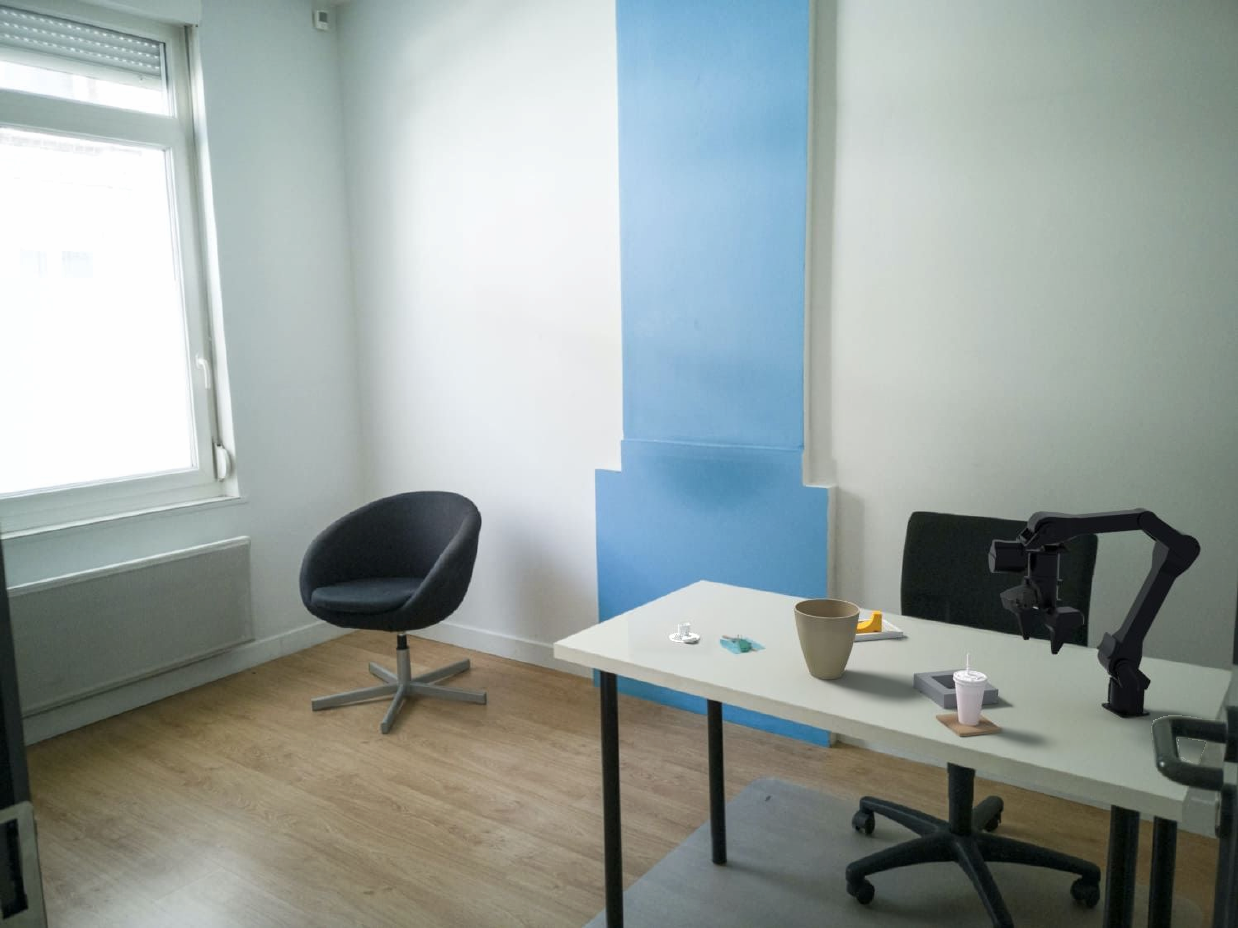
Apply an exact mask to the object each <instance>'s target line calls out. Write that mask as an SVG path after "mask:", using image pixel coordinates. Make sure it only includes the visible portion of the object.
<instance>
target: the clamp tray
mask: <svg viewBox="0 0 1238 928" xmlns="http://www.w3.org/2000/svg"><path fill="white" fill-rule="evenodd" d="M869 620H870V618H864V619H859V620H858V624H859V623H862V622H864V621H869ZM882 628H884V629H886V630H887V631H882V632H875V633H863V634H856V636H855V640H854V642H860V641H861V642H862V641H870V640H871V641H874V640H884V639H885V640H887V639H895V638H896V639H897V638H904V631H903V630H902V629H900V628H899V627H896V626H895V625H894V624H892V623H891V622H889V621H887V620H885V619H884V618H882Z"/></svg>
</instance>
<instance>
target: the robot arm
mask: <svg viewBox="0 0 1238 928" xmlns="http://www.w3.org/2000/svg"><path fill="white" fill-rule="evenodd" d="M1130 531H1131V532H1132V531H1142V532H1143V533H1144V534H1145V535H1146V536H1147V537H1149V538H1150V539H1151V540H1153V541H1154V542H1155V543H1154V546H1153V549H1152V553H1151V554H1152V555H1151V567H1150V570H1149V572H1148V573H1147V576H1146V578H1145V579H1144V581H1143V584H1142V585H1141V588H1140V589H1139V592H1138V593H1137V595H1136V597H1135V599H1134V601H1133V603H1132V605H1131V607H1130V608H1129V611H1128V613H1127V615H1126V616H1125V618H1124V620H1123V622H1122V624H1121V626H1120V628H1119V629H1117V631H1115V632H1114V633H1113V634H1112V633H1109V632H1107V631H1105V632H1104V634H1103V637H1102V640H1101V642H1100V643H1099V645H1098V646H1096V650H1098V652H1097V660H1098V662H1099V664H1100V665H1101V666H1102V668H1104V669H1105V670H1106V672H1107V674H1108V675H1109V676H1110V677H1109V683H1108V686H1107V702H1103V703H1101V707H1103V708H1104V709H1106V710H1107V711H1110V712H1111V713H1114V714H1116V715H1118V716H1119V717H1121V718H1131V717H1132V718H1133V717H1142V716H1150V715H1151V712H1150V711H1149V710H1147V709H1145V708H1144V707H1145V692H1146V691H1147V690H1148V689H1149V687H1150V684H1151V681H1152V680H1151V679H1150V678H1149V677H1148V676H1147V675H1146V674H1144V672H1142V670H1141V669H1140V666H1141V664H1142V663H1141V662H1142V659H1143V653H1144V652H1143V651H1144V650H1143V649H1144V641H1145V639H1146V637H1147V634H1148V633H1149V631H1150V628H1151V627H1152V625H1153V623H1154V621H1155V620H1156V618H1157V615H1158V613H1159V611H1160V610H1161V608H1162V607H1163V605H1164V603H1165V600H1166V598H1167V597H1168V595H1169V593H1170V591H1171V589H1172V587H1173V585H1174V583H1175V581H1176V579H1177V578H1178V577H1180V576H1181V575H1182V574H1184V573H1185V572H1187V571H1188V570H1189V569H1190V568H1191V567H1192V565H1193V564H1194V563H1195V562H1196V560H1197V559H1198V557H1199V556H1200V554H1201V551H1202V550H1201V549H1202V546H1201V545H1200V543H1199V541H1198V540H1197V538H1195V537H1194V536H1192V535H1191V534H1188V533H1186V532H1184V531H1182V530H1180V529H1176V528H1174V527H1172V526H1171V525H1169V524H1168V523H1167V522H1166V521H1163V520H1162V519H1161V518H1160V517H1158V516H1157V514H1156V513H1155V512H1153V511H1151V510H1149V509H1147V508H1144V507H1137V508H1133V509H1124V510H1114V511H1113V510H1112V511H1111V510H1110V511H1103V512H1092V513H1078V514H1076V513H1075V514H1072V513H1064V512H1058V511H1043V510H1042V511H1036V512H1034V513H1032V515H1031V516H1030V517H1029V518H1028V521H1027V525H1026V526H1025V528H1024V529H1022V531H1021V532H1020V533H1019V535H1018V536H1017V537H1016V538H1015V540H1002V539H992V543H991V546H990V550H989V552H988V567H989V571H990V573H993V574H1023V573H1022V572H1024V571H1026V569H1027V575H1025V576H1023V577H1022V579H1021V584H1020V585H1017V586H1013V587H1012V588H1009V589H1008V588H1007V589H1006V590H1005V591H1003V592H1001V593H1000V594H999V596H1000V599H1001V602H1002V605H1003V609H1005V610H1008V611H1009V612H1011V613H1013V614H1014V615H1015V616H1016V619H1017V623H1018V626H1019V629H1020V632H1021V636H1022V639H1023V640H1024V641H1029V640H1030V638H1031V636H1032V633H1033V629H1034V625H1035V620H1036V617H1037V614H1038V612H1039V611H1040V612H1041V613H1044V614H1045V616H1044V619H1045V621H1046V622H1044V625H1045V627H1047V629H1049V634H1050V635H1049V638H1050V653H1051V654H1052V655H1054V656H1055V655H1058V654H1059V652H1060V651H1061V649H1062V647H1063V646H1064V644H1065V643H1066V641H1067V639H1069V637H1070V635H1071V634H1072V633H1073V631H1075V629H1077V628H1078V629H1079V627H1081V626H1084V624H1085V615H1084V613H1083V612H1082V611H1081V610H1078V609H1076V608H1073V607H1072V606H1062V605H1063V599H1061V598H1059V597H1058V596H1059V595H1058V594H1059V586H1064V580H1063V579H1061V578H1059V577H1060V574H1059V573H1060V558H1061V557H1060V555H1070V554H1072V551H1071V550H1070V549H1069V548H1067V546H1066V545H1065V543H1064V542H1066V541H1070V540H1071V539H1074V538H1076V537H1079V536H1084V535H1085V536H1086V535H1095V534H1096V535H1099V534H1108V533H1109V534H1110V533H1120V532H1121V533H1122V532H1130ZM1057 606H1060V607H1057Z"/></svg>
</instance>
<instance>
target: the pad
mask: <svg viewBox="0 0 1238 928" xmlns="http://www.w3.org/2000/svg"><path fill="white" fill-rule="evenodd" d="M935 719H936V720H938V721H939V723H941V724H943V725H944V726H946V727H947V728H948V729H949V730H951V731H952V732H953V733H955V734H956V735H957V736H958V737H968V736H969V737H970V736H979V735H987V734H997V733H1003V729H1002V728H1001V727H999V726H998V725H997V724H995V723H994V722H992V721H991V720H989V719H988V718H986V717H985V716H983V714H981V713H980V718H979V724H978V725H975V726H968V725H964V724H961V723H960V722H959V717H958V712H957V713H947V714H938V715H935Z"/></svg>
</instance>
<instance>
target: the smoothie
mask: <svg viewBox="0 0 1238 928" xmlns="http://www.w3.org/2000/svg"><path fill="white" fill-rule="evenodd" d="M970 666H971V653H967V655H966V669H967V670H962V671H957V672H955V673H954V677H953V680H954V681H955V687H954V688H955V689H956V697H957V707H956V708H957V713H958V717H959V722H960V723H961V724H964V725H968V726H975V725H978V724H979V718H980V714H981V711H982V705H983V704H982V701H983V695H984V689H985V685H986V684H987V682H988V677H987V675H986V674H984V673H983V672H979V671H975V670H971V668H970Z"/></svg>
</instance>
